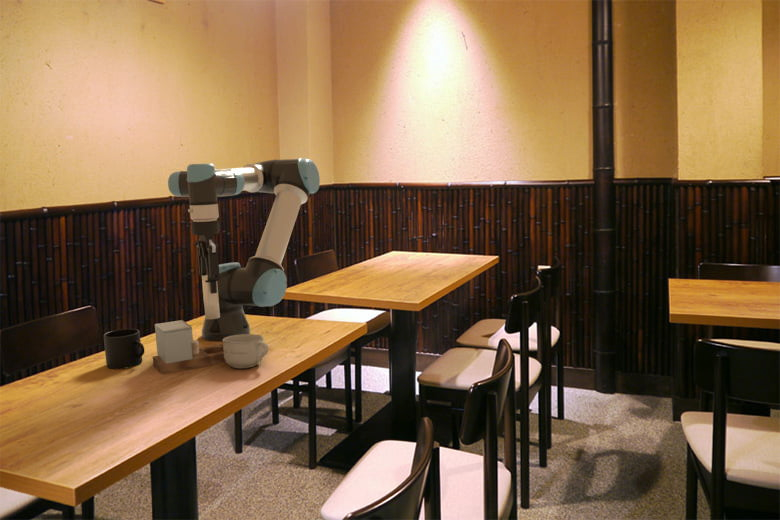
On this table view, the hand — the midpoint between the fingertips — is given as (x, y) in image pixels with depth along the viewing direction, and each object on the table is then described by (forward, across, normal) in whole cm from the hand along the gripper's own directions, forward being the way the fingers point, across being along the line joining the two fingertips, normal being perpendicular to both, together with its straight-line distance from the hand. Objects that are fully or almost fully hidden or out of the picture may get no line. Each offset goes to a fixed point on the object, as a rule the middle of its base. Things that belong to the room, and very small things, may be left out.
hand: (211, 302), depth 189 cm
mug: (+16, -10, -22) cm, 29 cm away
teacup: (+16, +13, +5) cm, 22 cm away
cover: (+14, 0, -11) cm, 17 cm away
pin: (+4, 0, 0) cm, 4 cm away
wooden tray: (+16, 0, -6) cm, 17 cm away
